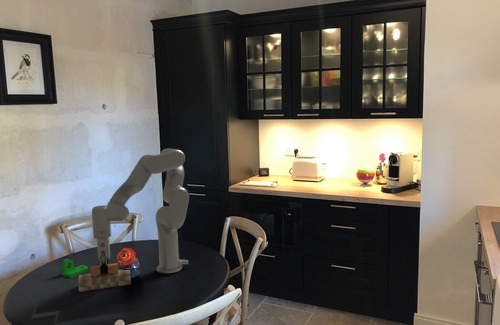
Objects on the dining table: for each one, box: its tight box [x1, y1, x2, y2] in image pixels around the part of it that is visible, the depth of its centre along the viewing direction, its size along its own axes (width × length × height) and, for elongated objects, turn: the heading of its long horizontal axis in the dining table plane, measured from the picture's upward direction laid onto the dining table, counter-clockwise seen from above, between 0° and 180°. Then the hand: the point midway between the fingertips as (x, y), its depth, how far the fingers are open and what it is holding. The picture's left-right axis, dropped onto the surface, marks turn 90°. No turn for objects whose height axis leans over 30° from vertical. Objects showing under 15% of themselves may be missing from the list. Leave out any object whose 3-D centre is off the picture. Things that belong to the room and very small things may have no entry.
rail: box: [77, 268, 132, 292], centre depth 188 cm, size 22×7×5 cm, turn 108°
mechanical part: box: [60, 258, 89, 279], centre depth 204 cm, size 12×6×8 cm, turn 154°
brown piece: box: [89, 262, 119, 277], centre depth 188 cm, size 12×3×8 cm, turn 109°
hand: (104, 270), depth 187 cm, fingers open, 9 cm apart
